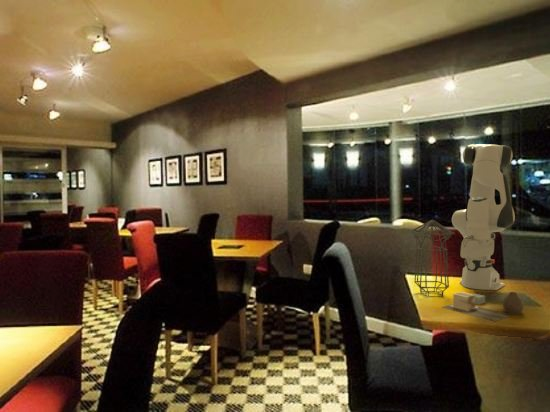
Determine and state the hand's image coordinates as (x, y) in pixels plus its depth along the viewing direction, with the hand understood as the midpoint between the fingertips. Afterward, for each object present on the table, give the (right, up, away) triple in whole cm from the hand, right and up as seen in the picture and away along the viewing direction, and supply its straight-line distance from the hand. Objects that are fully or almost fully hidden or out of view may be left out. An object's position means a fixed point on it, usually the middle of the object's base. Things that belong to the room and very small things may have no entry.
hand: (476, 267), depth 176 cm
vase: (+8, -17, -13) cm, 23 cm away
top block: (0, -16, +1) cm, 16 cm away
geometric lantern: (-13, -16, +18) cm, 27 cm away
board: (-6, -17, -12) cm, 21 cm away
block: (-8, -15, -6) cm, 18 cm away
